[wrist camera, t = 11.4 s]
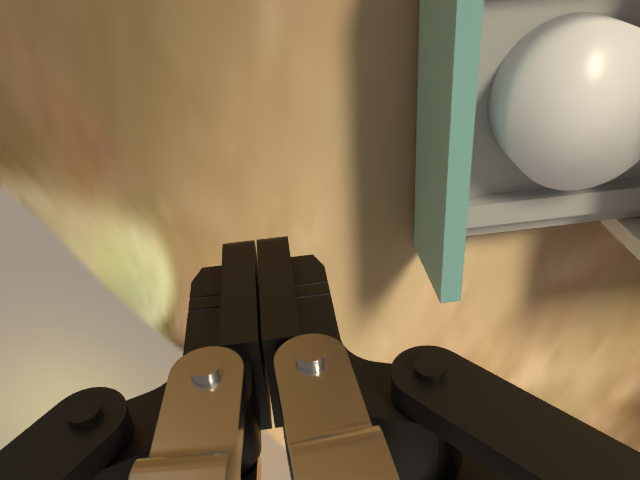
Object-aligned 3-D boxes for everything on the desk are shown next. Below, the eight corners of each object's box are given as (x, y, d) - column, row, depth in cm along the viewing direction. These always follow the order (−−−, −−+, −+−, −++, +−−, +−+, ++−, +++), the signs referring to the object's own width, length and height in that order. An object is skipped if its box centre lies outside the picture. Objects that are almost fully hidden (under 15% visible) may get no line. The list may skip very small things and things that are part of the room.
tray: (422, -107, 19) (462, -101, 16) (742, -132, 20) (850, -132, 17) (413, 245, 27) (440, 303, 23) (650, 217, 27) (710, 269, 24)
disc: (662, 6, 21) (698, 18, 20) (622, 162, 24) (651, 183, 23) (498, 16, 21) (521, 28, 19) (479, 174, 24) (497, 196, 22)
